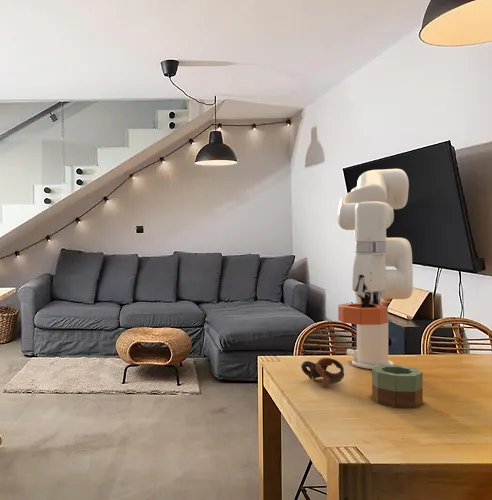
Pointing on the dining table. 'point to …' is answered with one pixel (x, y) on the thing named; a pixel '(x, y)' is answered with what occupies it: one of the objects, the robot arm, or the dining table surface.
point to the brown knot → (323, 371)
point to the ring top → (362, 314)
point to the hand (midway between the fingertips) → (370, 317)
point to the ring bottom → (397, 397)
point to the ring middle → (397, 378)
